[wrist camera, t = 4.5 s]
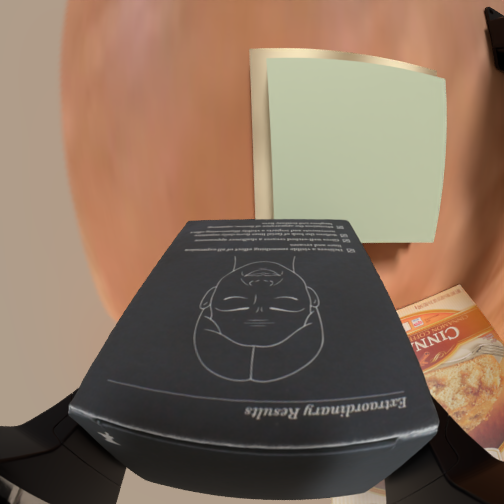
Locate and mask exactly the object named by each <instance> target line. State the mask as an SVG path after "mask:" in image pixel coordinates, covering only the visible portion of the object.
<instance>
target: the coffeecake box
mask: <svg viewBox="0 0 504 504" xmlns="http://www.w3.org/2000/svg"><path fill="white" fill-rule="evenodd" d="M396 312H397V313H398V315H399V318H400V320H401V322H402V325H403V327H404V329H405V331H406V333H407V335H408V338H409V340H410V342H411V345H412V347H413V350H414V352H415V354H416V356H417V358H418V361H419V363H420V366H421V369H422V371H423V373H424V376H425V379H426V383H427V385H428V388H429V390H430V393H431V395H432V396H433V397H434V398H435V399H436V400H437V401H438V403H439V404H440V405H441V406H442V407H443V408H444V409H445V410H446V411H447V412H448V414H449V415H450V416H451V417H452V418H453V419H454V420H455V421H456V422H457V423H458V424H459V425H460V427H461V428H462V429H463V430H464V431H465V432H466V433H467V434H469V435H470V436H471V437H472V438H473V439H474V440H475V441H476V442H477V443H478V444H480V445H481V446H482V447H483V448H484V449H485V450H486V451H487V452H488V453H490V454H491V455H492V456H493V457H495V458H496V459H498V460H500V461H503V462H504V343H503V341H502V340H501V339H500V337H499V336H498V334H497V333H496V331H495V330H494V328H493V327H492V326H491V324H490V323H489V321H488V320H487V319H486V317H485V316H484V314H483V313H482V312H481V310H480V309H479V308H478V307H477V305H476V304H475V303H474V301H473V300H472V299H471V298H470V296H469V295H468V294H467V293H466V292H465V290H464V289H463V288H462V287H461V285H460V284H459V285H457V286H454V287H452V288H450V289H448V290H445V291H443V292H441V293H439V294H436V295H434V296H431V297H429V298H427V299H424V300H422V301H419V302H417V303H414V304H412V305H409V306H407V307H404V308H402V309H399V310H396ZM330 499H331V500H330V501H331V504H386V492H385V481H384V480H382V481H381V482H379V483H378V484H377V485H375V486H374V487H373V488H371V489H370V490H368V491H367V492H365V493H361V494H355V495H348V496H341V497H332V498H330Z"/></svg>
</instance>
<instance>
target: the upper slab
mask: <svg viewBox="0 0 504 504" xmlns="http://www.w3.org/2000/svg"><path fill="white" fill-rule="evenodd" d="M266 62H267V77H268V94H269V111H270V131H271V152H272V176H273V204H274V219H333V220H347V221H349V223H350V224H351V226H352V227H353V229H354V231H355V233H356V234H357V236H358V238H359V240H360V242H361V243H413V242H434V238H435V232H436V227H437V222H438V216H439V209H440V203H441V195H442V187H443V178H444V168H445V154H446V130H447V108H446V84H445V79H443V78H439V77H436V76H432V75H428V74H424V73H420V72H416V71H411V70H407V69H402V68H397V67H391V66H385V65H379V64H372V63H365V62H357V61H348V60H336V59H321V58H266Z"/></svg>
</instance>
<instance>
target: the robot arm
mask: <svg viewBox="0 0 504 504" xmlns="http://www.w3.org/2000/svg"><path fill="white" fill-rule="evenodd" d="M485 13H486V17H487V21H488V25H489V30H490V35H491V40H492V46H493V53H494V60H495V66H496V68H497V69H498V70H499V71H501V72H502V73H504V16H503V15H502V14H500V13H499V12H497V11H495V10H494V9H492V8H490V7H486V8H485ZM79 388H80V387H79ZM79 388H78V389H76V390H75V391H74V392H73V394H72V393H71V394H70V395H68V396H67V397H66V398H64V399H63V400H62V401H60V402H59V403H57V404H56V405H54V406H53V407H51V408H50V409H48V410H46V411H45V412H43V413H41V414H40V415H38V416H37V417H35V418H33V419H31V420H30V421H28V422H26V423H24V424H22V425H19V426H11V427H9V426H0V504H116V502H117V499H118V495H119V492H120V488H121V484H122V480H123V477H124V474H125V470H126V466H125V465H123V464H122V463H121V462H120V461H119V460H117V459H116V458H115V457H114V456H113V455H112V454H111V453H109V452H108V451H107V450H106V449H105V448H104V447H103V446H102V445H101V444H99V443H98V442H97V441H96V440H95V439H94V438H93V437H92V436H91V435H90V434H89V433H88V432H87V431H86V430H85V429H84V428H83V427H82V426H81V425H79V424H78V423H77V422H76V421H75V420H74V419H73V418H71V417H70V416H69V414H68V411H69V404H70V402H71V401H72V399H73V398H74V396H75V395H76V393H77V391H78V390H79ZM431 397H432V400H433V403H434V405H435V408H436V411H437V414H438V418H439V426H438V430H437V433H436V435H435V436H434V437H433V438H432V439H431V440H430V441H429V442H428V443H427V444H426V445H425V446H423V447H422V448H421V449H420V450H419V451H418V452H417V453H416V454H414V455H413V456H412V457H411V458H410V459H409V460H407V461H406V462H405V463H404V464H403V465H402V466H400V467H399V468H398V469H397V470H395V471H394V472H393V473H392V474H390V475H389V476H388V477H386V478H385V479H384V481H385V492H386V504H504V462H503V461H500V460H498V459H496V458H495V457H493V456H492V455H491V454H490V453H488V452H487V451H486V450H485V449H484V448H483V447H482V446H481V445H480V444H478V443H477V442H476V441H475V440H474V439H473V438H472V437H471V436H470V435H469V434H467V433H466V432H465V431H464V430H463V429H462V428H461V427H460V425H459V424H458V423H457V422H456V421H455V420H454V419H453V418H452V417H451V416H450V415H449V414H448V412H447V411H446V410H445V409H444V408H443V407H442V406H441V405H440V404H439V403H438V401H437V400H436V399H435V398H434V397H433V396H432V395H431Z"/></svg>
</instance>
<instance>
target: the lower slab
mask: <svg viewBox="0 0 504 504" xmlns="http://www.w3.org/2000/svg"><path fill="white" fill-rule="evenodd" d="M249 52H250V78H251V105H252V132H253V161H254V192H255V219H274V204H273V176H272V152H271V131H270V111H269V94H268V77H267V62H266V58H321V59H336V60H348V61H357V62H365V63H372V64H379V65H385V66H391V67H397V68H402V69H407V70H411V71H416V72H420V73H424V74H428V75H432V76H436V77H437V71H435V70H432V69H428V68H425V67H421V66H417V65H413V64H409V63H405V62H401V61H396V60H392V59H387V58H381V57H376V56H370V55H364V54H357V53H349V52H341V51H331V50H318V49H298V48H261V49H249Z"/></svg>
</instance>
